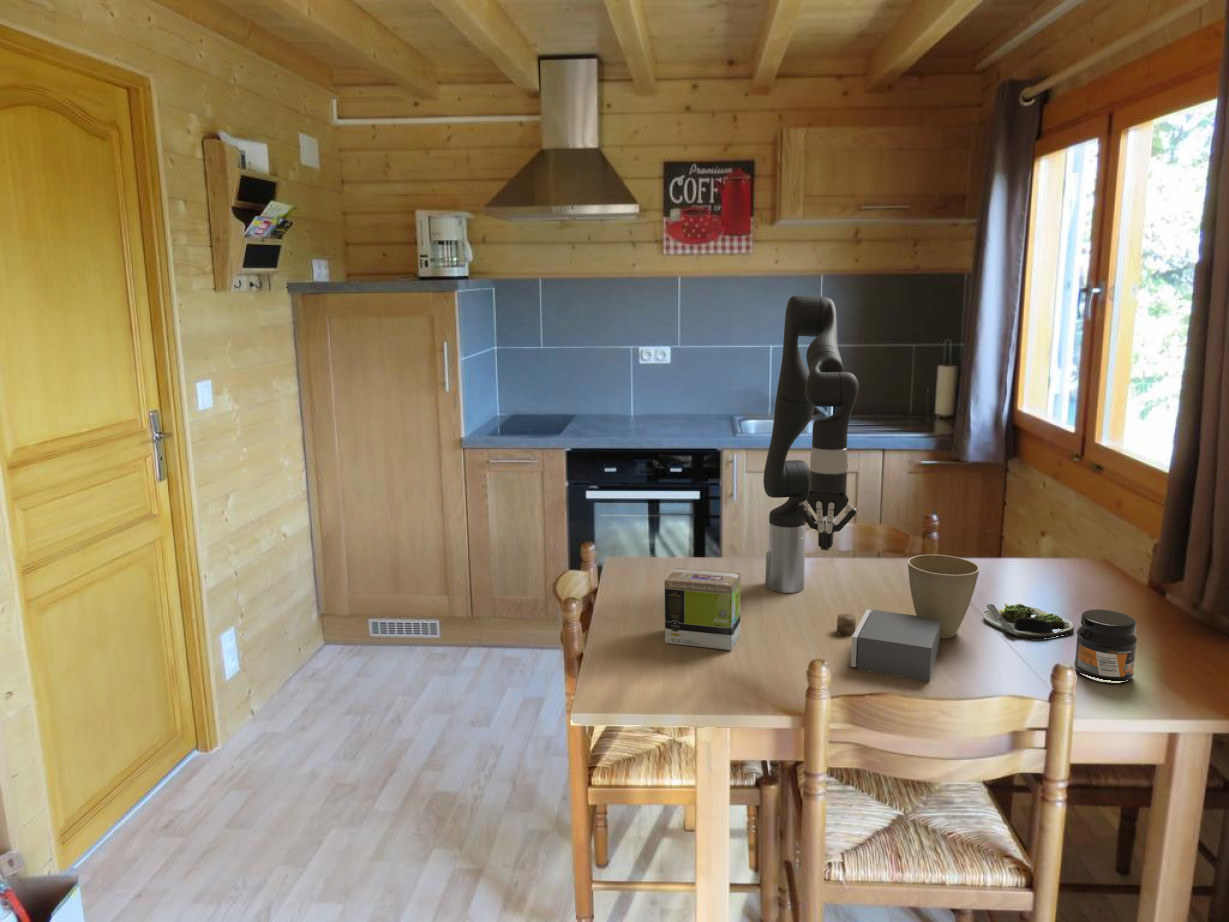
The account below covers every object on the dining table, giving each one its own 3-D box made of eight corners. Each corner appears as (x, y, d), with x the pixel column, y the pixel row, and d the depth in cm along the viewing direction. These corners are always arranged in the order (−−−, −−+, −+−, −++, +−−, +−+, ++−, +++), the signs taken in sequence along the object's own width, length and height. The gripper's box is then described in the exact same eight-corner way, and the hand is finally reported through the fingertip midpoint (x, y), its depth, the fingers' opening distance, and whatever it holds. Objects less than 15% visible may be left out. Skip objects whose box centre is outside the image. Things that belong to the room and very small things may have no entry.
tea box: (740, 635, 203) (741, 571, 200) (731, 652, 194) (732, 586, 191) (675, 627, 208) (675, 565, 205) (663, 644, 199) (663, 579, 196)
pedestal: (835, 633, 203) (835, 618, 203) (838, 627, 207) (839, 612, 206) (853, 636, 202) (854, 621, 201) (856, 630, 205) (857, 615, 205)
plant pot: (940, 650, 194) (945, 578, 191) (889, 627, 207) (893, 560, 203) (989, 637, 200) (994, 568, 197) (937, 616, 213) (941, 550, 210)
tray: (850, 666, 185) (852, 636, 184) (865, 636, 200) (866, 609, 199) (921, 677, 179) (923, 647, 178) (931, 646, 194) (933, 618, 193)
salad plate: (959, 616, 214) (961, 597, 214) (1020, 606, 220) (1021, 588, 219) (1021, 646, 197) (1022, 625, 196) (1085, 634, 202) (1086, 615, 201)
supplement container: (1107, 689, 174) (1113, 630, 172) (1061, 669, 184) (1066, 612, 182) (1145, 680, 179) (1152, 622, 176) (1098, 660, 188) (1103, 604, 186)
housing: (857, 669, 184) (858, 637, 183) (871, 639, 200) (872, 609, 198) (929, 681, 179) (931, 648, 177) (938, 650, 194) (940, 619, 192)
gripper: (792, 469, 188) (790, 550, 191) (857, 474, 182) (854, 557, 185) (801, 462, 194) (798, 541, 198) (864, 467, 189) (860, 548, 192)
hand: (825, 549), depth 191 cm, fingers closed
